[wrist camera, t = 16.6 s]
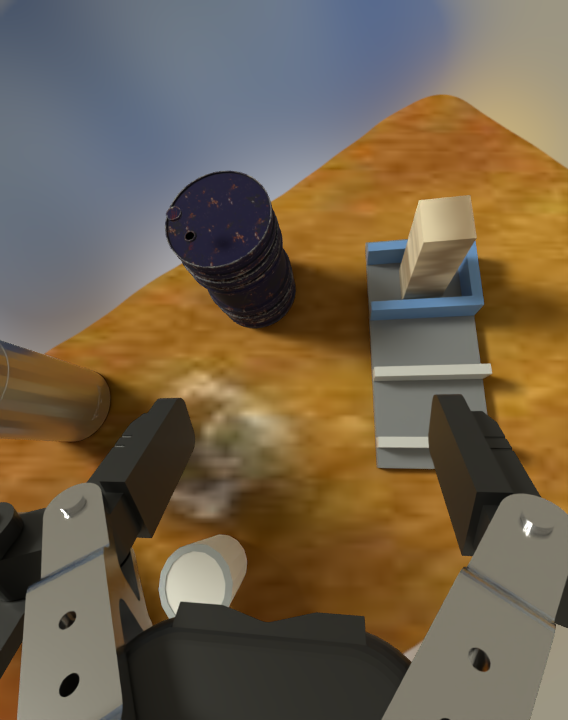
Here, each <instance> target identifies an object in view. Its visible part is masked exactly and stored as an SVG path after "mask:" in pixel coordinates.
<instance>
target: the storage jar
mask: <svg viewBox="0 0 568 720" xmlns="http://www.w3.org/2000/svg"><path fill="white" fill-rule="evenodd" d="M166 216H167V217H166V222H165V231H166V237H167V241H168V243H169V245H170V247H171V249H172V250H173V252H174V253H175V254H176V255H177V257H178V258H179V259H180V260H181V261H182V263H183V265H184V266H185V268H186V269H187V270H188V271H189V272H190V274H191V275H192V276H193V277H194V278H195V280H196V281H197V282H198V283H199V284H200V285H202V286H203V287H205V288H206V289H208V292H209V294H210V296H211V298H212V299H213V301H214V302H215V303H216V304H217V305H218V306H219V307H220V308H221V310H222V311H223V312H225V313H226V314H227V315H228V316H229V317H230V318H231V319H232V320H233V321H234V322H236V323H237V324H239V325H241V326H244V327H248V328H262V327H266V326H269V325H272V324H274V323H276V322H277V321H279V320H280V319H281V318H283V317H284V316H285V314H286V313H287V312H288V311H289V309H290V308H291V306H292V304H293V301H294V298H295V292H296V289H295V282H294V278H293V272H292V268H291V265H290V260H289V257H288V255H287V253H286V252H285V250H284V249H283V242H282V234H281V230H280V228H279V224H278V221H277V217H276V215H275V213H274V211H273V209H272V205H271V201H270V198H269V196H268V194H267V192H266V190H265V189H264V187H263V186H262V185H261V184H260V183H259V182H258V181H257V180H256V179H254V178H253V177H251V176H249V175H247V174H244V173H240V172H236V171H219V172H213V173H210V174H207V175H204V176H202V177H200V178H198V179H196V180H194V181H193V182H191V183H190V184H188V185H187V186H186V187H185V188H184V189H183V190H182V191H181V192H180V193H179V194H178V195H177V196H176V198H175V199H174V201H173V202H172V204H171V206H170V208H169V209H168V211H167V213H166Z"/></svg>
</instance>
